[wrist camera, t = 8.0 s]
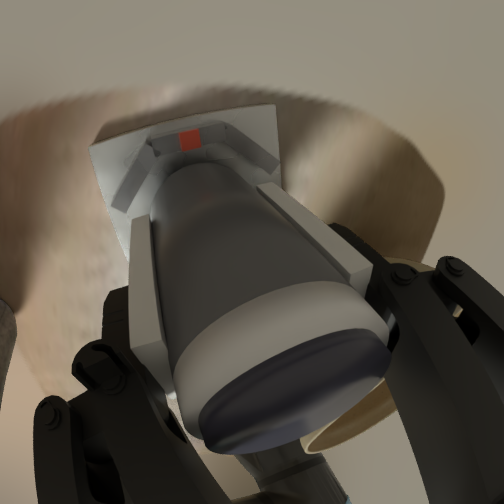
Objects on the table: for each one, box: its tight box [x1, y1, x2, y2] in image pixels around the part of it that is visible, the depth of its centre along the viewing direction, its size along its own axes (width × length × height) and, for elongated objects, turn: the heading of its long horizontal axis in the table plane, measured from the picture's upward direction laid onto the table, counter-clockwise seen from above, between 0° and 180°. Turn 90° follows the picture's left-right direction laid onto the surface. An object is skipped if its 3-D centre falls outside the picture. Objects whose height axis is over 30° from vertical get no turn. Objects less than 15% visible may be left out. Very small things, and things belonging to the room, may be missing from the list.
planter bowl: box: [300, 257, 463, 454], centre depth 19 cm, size 16×16×11 cm
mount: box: [88, 103, 282, 263], centre depth 13 cm, size 9×9×2 cm
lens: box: [150, 163, 392, 455], centre depth 9 cm, size 5×5×10 cm
